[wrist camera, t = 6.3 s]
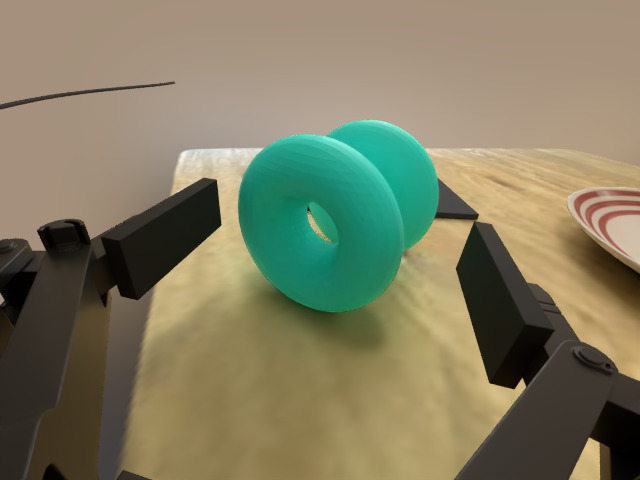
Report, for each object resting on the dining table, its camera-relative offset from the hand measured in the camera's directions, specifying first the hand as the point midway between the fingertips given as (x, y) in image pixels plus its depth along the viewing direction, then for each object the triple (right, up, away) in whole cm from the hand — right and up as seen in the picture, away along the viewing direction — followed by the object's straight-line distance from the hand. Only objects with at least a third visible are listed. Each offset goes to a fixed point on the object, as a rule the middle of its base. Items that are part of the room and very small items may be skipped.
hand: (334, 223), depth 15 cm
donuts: (0, -3, +6) cm, 7 cm away
